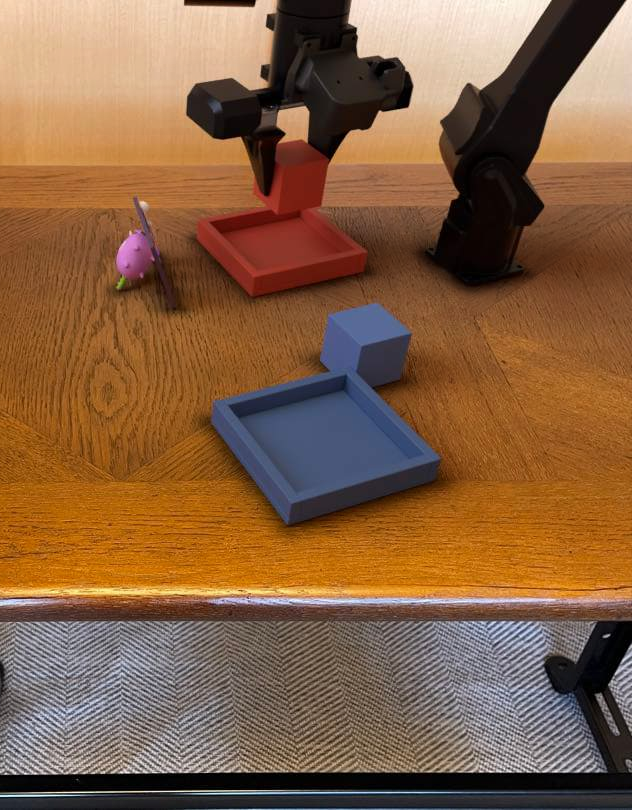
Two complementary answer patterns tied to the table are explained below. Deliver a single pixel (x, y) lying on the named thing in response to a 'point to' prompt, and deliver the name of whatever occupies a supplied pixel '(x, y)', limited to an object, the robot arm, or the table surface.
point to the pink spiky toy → (140, 253)
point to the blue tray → (323, 444)
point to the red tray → (280, 248)
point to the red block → (295, 178)
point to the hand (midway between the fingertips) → (287, 189)
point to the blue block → (366, 343)
